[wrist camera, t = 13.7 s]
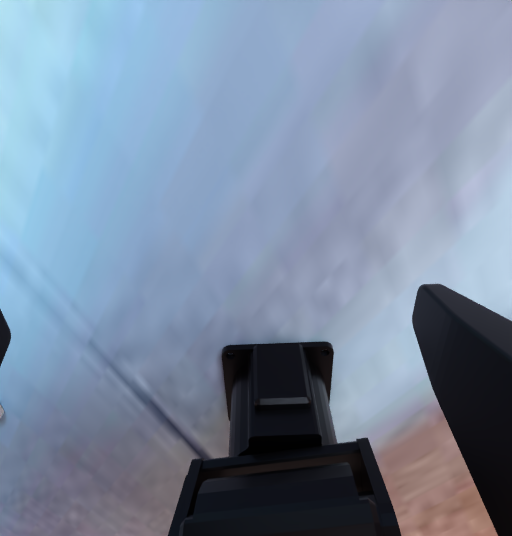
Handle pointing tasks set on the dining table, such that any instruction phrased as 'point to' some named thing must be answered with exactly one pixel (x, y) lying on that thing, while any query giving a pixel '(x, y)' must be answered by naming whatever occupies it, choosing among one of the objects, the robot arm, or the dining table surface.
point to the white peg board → (1, 411)
